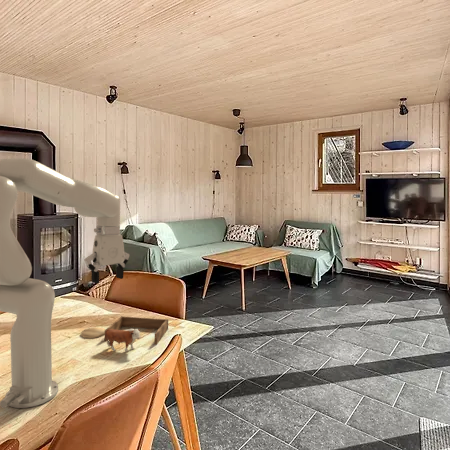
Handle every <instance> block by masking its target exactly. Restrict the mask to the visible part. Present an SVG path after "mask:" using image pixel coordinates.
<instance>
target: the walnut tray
mask: <svg viewBox="0 0 450 450" xmlns="http://www.w3.org/2000/svg"><path fill="white" fill-rule="evenodd" d="M122 328H133V329H134V328H135V329H151V330H152V329H153V330H157V331H156V332H155V333H154V345H155V346H157V345H158V344H159V342H161V340H162V338H163V337H164V336H165V334H166V332H168V331H169V319H167V318H166V319H164V318H163V319H162V318H151V317H135V316H120V317H119V318H118V319H116V320H115V321H114V322H113V323H111V325H109V326H108V327H107V328H106V329H105V332H106V330H108V329H114V330H121V329H122ZM107 340H108V339H107ZM107 340H106V337H105V336H104V342H107ZM108 341H109V340H108Z"/></svg>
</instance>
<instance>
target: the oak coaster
mask: <svg viewBox="0 0 450 450" xmlns="http://www.w3.org/2000/svg"><path fill="white" fill-rule="evenodd" d="M105 330H106V329H105V328H103V327H99V326H98V327H89V328H86V329H84V330H82V331H81V332H80V333H81V334H80V336H81V337H82V338H84V339H97V338H101V337H103V336H105Z"/></svg>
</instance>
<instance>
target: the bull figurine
mask: <svg viewBox="0 0 450 450" xmlns="http://www.w3.org/2000/svg"><path fill="white" fill-rule="evenodd" d="M105 330H106V329H105ZM140 331H141V328H135V329H134V328H129V329H119V330H114V329H108V330H106V332H105V335H104V338H105V337H106V340H107V339H108V340H107V341H106V344H107V347H109V348H110V347H111V350H112V351H113V352H116V351H117V349H116V348H115V346H114V342H116V343H117V344H118V345H120V344H123V343H124V344H125V348H124V351H125V352H126V353H128V352H129V350H128V348H129V345H130V349H131V350H133V351H134V350H135V349H136V348H135V347H134V346H133V343H135V342H136V340H139V339H141V337H142V336H141V335H140V333H141V332H140Z"/></svg>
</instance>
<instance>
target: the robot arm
mask: <svg viewBox="0 0 450 450" xmlns="http://www.w3.org/2000/svg"><path fill="white" fill-rule="evenodd" d="M18 192H22V193H24V194H25V193H26V194H29V195H32V196H34V197H36V198H39V199H41V200H43V201H46V202H48V203H52V204H54V205H56V206H61V207H67V208H73V209H74V211H75V212H76V213H77V214H78V215H79V216H81V217H87V218H96V228H94V229H93V232H94V233H96V234H95V236H94V240H93V244H92V245H93V247H92V253H91V254H89V255H88V256H87V257H85V258H84V263H85V264H86V265H85V266H86V267H87V268H88V269H89V270H90V271H91V278H90V279H91V282H92V283H94V284H99V283H100V271H99V269H100V268H101V266H104V267H105V266H111V265H117V266H116V269H115V271H116V273H115V275H116V276H115V277H116V278H117V279H120V280H124V270H125V269H124V268H125V267H126V264H127V263H128V261H129V258H130V253H128V252H126V251H125V244H124V238H123V235H122V234H121V198H120V197H119V195H115V194H114V193H112V192H110V191H108V190H106V189H105V188H102V187H99V186H97V185H94V184H91V183H87V182H84V181H81V180H78V179H75V178H71V177H68V176H66V175H65V174H63V173H60V172H58V171H57V170H55V169H53V168H51V167H48V166H47V165H45V164H43V163H41V162H39V161H36V160H34V159H31V158H2V159H0V312H2V313H9V314H13V315H16V319H15V320H14V323H13V324H12V327H11V330H10V338H9V339H10V373H11V385H10V387H9V390H8V391H7V392H6V394H5V395H4V396H5V397H4V398H3V399H2V400H0V407H1V408H2V409H5V408H6V407H8V406H9V407H11V408H15V409H17V408H18V409H27V408H33V407H37V406H40V405H42V404H45V403H47V402H49V401H51V400H53V398H55V396H57V394H58V392H59V384H58V383H57V382H56V381H55V380H53V379H52V378H53V377H52V376H53V374H52V373H53V371H52V369H53V367H52V366H53V365H52V318H53V317H52V316H53V310H54V306H55V300H56V299H55V298H56V294H55V290H54V288H53V286H52V285H51V284H49V283H48V282H47V281H45V280H41V279H38V278H37V279H36V278H31V275H32V271H33V266H32V263H31V260H30V258H29V257H28V255H27V254H26V252H25V250H24V249H23V247H22V246H21V244H20V242H19V241H18V239H17V238H16V236H15V234H14V231H13V230H12V227H11V218H12V215H13V211H14V209H15V206H16V204H17V201H18V195H19V194H18Z"/></svg>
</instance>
